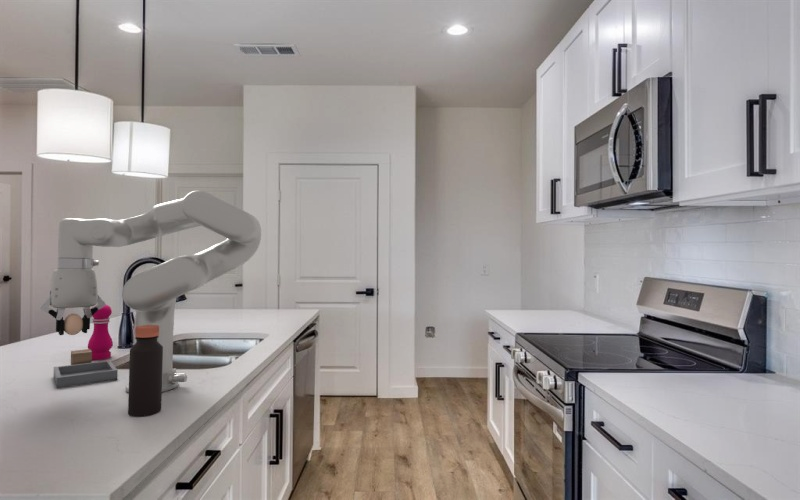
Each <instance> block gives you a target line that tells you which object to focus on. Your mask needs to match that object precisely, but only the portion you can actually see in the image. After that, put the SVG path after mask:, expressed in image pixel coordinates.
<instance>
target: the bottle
mask: <svg viewBox="0 0 800 500" xmlns="http://www.w3.org/2000/svg"><path fill="white" fill-rule="evenodd" d="M158 335H159V326H158V325H142V326H137V327H135V339H136V343H135V344H134V343H133V345H132V347H130V349H129V361H128V362H129V366H128V367H129V371H128V384H129V392H128V396H127V397H128V398H127V399H128V401H127V403H128V406H127V413H128V415H129V416H130V417H134V418H135V417H136V418H141V417H148V416H149V417H150V416H152V415H153V416H154V415H156V414H158V413H160V411H161V410H162V398H163V397H162V396H163V395H162V394H163V392H162V365H163V346H162V345H161V344H160V343H159V342H158V341H157V338H158V337H159V336H158Z"/></svg>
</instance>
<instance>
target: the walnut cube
mask: <svg viewBox="0 0 800 500" xmlns="http://www.w3.org/2000/svg"><path fill="white" fill-rule="evenodd" d="M92 361H93V360H92V351H91V350H90V349H88V348H86V349H79V350H77V349H76V350H70V365H76V364H84V363H93V362H92Z"/></svg>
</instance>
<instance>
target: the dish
mask: <svg viewBox="0 0 800 500" xmlns="http://www.w3.org/2000/svg"><path fill="white" fill-rule="evenodd" d="M118 373H119V372H118V369H117V367H116V365H114V363H113V362H112V361H111V360H103V361H95V362H94V361H93V362H92V363H84V364H76V365H71V364H69V365H59V366H58V365H57V366H54V367H53V380H54V384H55V387H56V389H61V388H62V389H63V388H68V387H69V388H70V387H75V386H82V385H84V386H85V385H90V384H98V383H104V382H111V381H118Z"/></svg>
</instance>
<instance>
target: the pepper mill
mask: <svg viewBox="0 0 800 500" xmlns="http://www.w3.org/2000/svg"><path fill="white" fill-rule="evenodd" d="M102 300H103V302H104V303H105V304H106V301H105V300H104V299H102ZM95 306H96V305H94V306H93V307H95ZM112 311H113V310H112V308H111V306H109V305H108V304H106V305H105V306H104V307H103V308H101V309H99V310H98V311H97V312H96V313H95V314H94V315H92V317H91V318H92V324H93V331H92V335H91V336H90V338H89V340H88V342H87V349H90V350H91V351H92V361H99V360H106V359H107V360H108V359H110V358H111V357H112V351H110V350H111V349H112V348H113V344H114V342H113V339H112V337H111V334H110V332H109V323H110V322H111V321H110V316H111V315H112V313H113V312H112Z"/></svg>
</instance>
